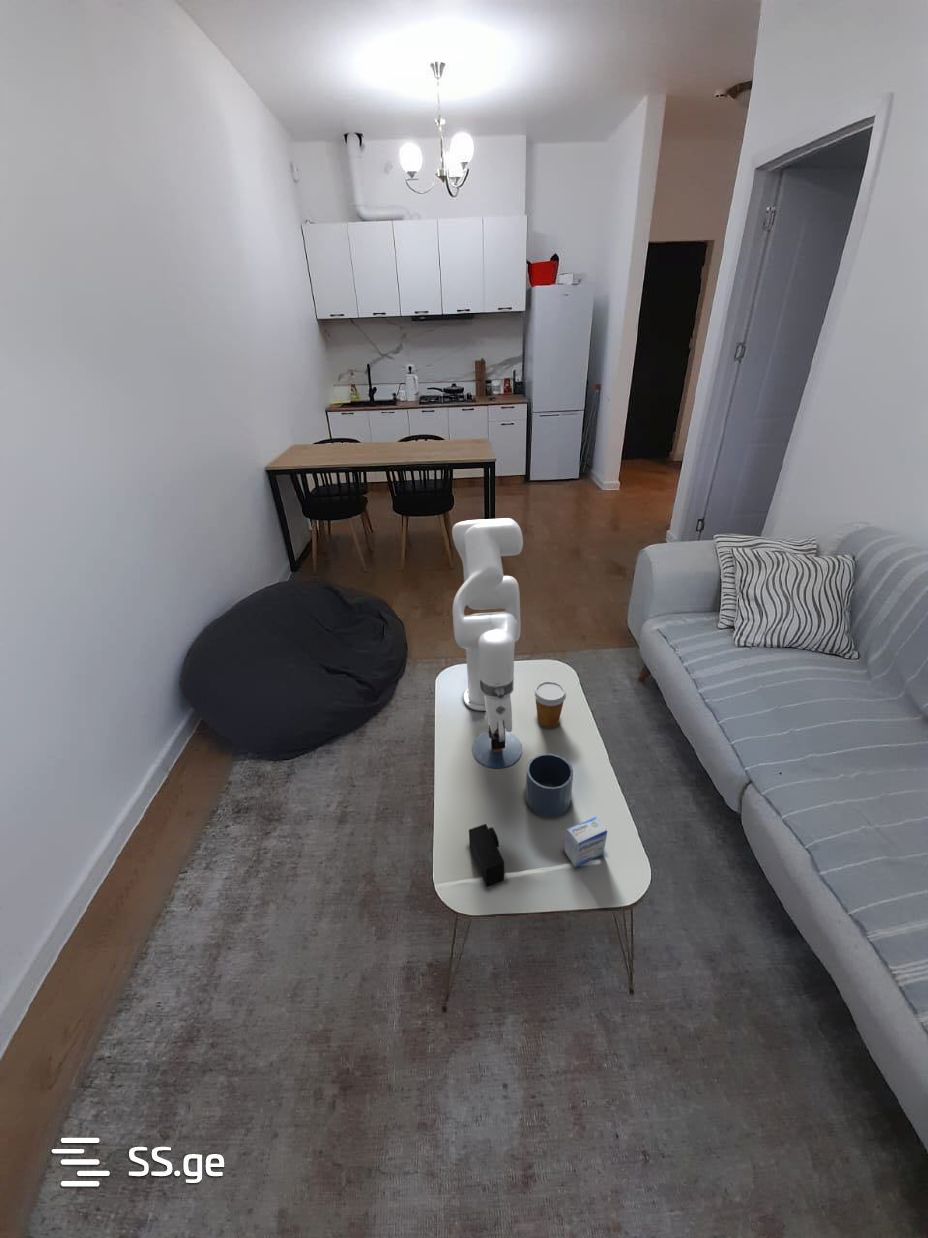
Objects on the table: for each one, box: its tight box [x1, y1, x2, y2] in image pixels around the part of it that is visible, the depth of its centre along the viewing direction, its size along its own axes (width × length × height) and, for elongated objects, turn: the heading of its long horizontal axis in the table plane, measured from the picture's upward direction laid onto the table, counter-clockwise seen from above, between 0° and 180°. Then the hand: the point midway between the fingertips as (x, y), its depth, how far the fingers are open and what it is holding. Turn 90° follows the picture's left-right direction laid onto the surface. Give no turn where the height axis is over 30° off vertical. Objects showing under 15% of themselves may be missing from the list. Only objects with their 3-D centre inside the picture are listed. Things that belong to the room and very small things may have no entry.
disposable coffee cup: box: [533, 680, 567, 729], centre depth 149 cm, size 10×10×12 cm
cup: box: [525, 752, 574, 817], centre depth 125 cm, size 11×11×10 cm
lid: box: [471, 730, 523, 770], centre depth 119 cm, size 12×12×7 cm
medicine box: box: [564, 816, 608, 868], centre depth 112 cm, size 8×4×9 cm, turn 114°
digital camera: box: [468, 823, 505, 889], centre depth 111 cm, size 10×5×7 cm, turn 21°
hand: (497, 742), depth 119 cm, fingers closed on lid, 2 cm apart
